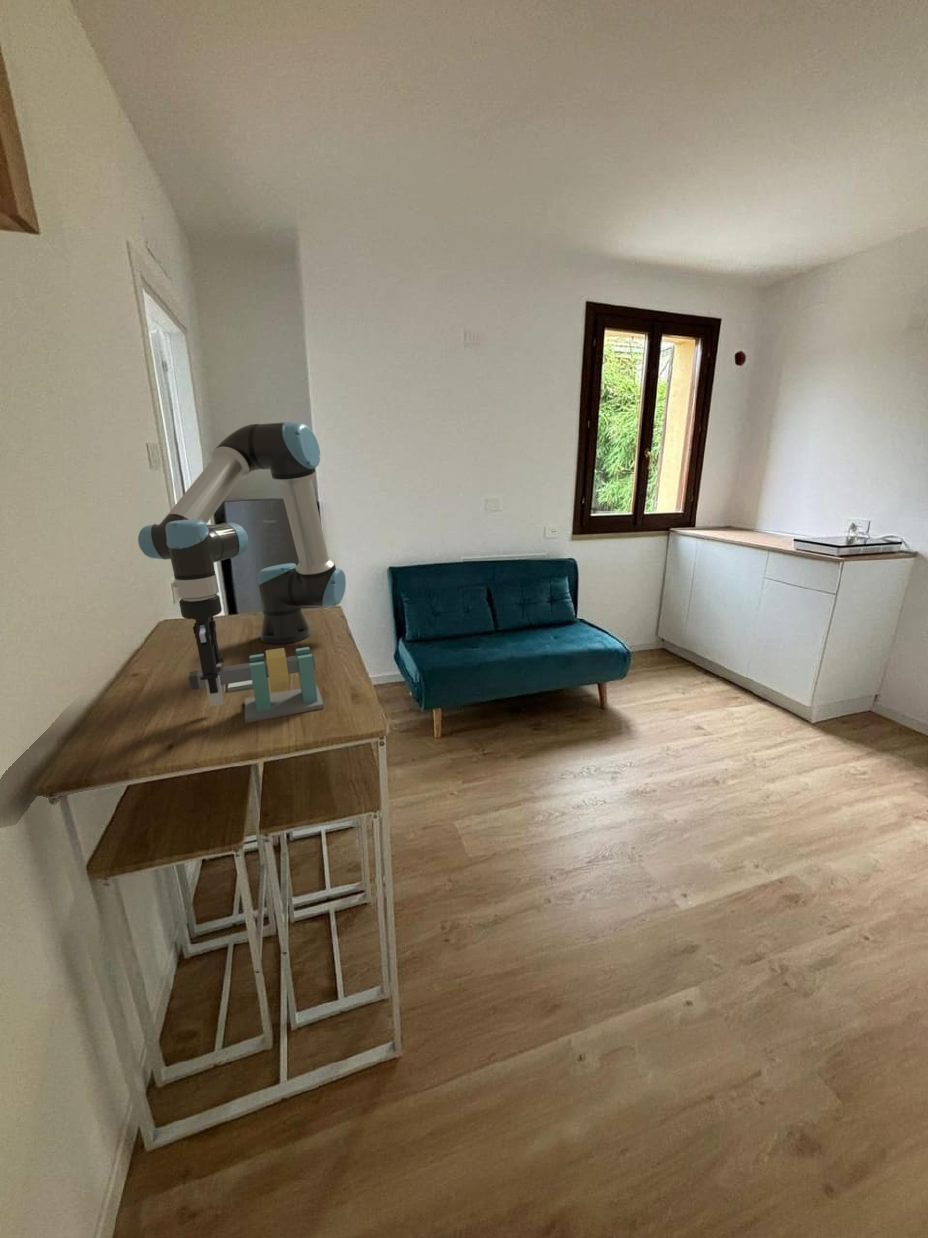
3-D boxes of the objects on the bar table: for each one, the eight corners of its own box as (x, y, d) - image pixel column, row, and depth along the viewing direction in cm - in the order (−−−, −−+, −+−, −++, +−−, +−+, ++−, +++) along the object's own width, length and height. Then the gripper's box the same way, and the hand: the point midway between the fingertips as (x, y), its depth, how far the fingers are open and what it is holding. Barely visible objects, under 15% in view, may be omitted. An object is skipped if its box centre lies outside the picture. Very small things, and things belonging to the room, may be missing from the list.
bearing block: (245, 702, 120) (237, 654, 116) (317, 689, 126) (312, 643, 122) (245, 723, 110) (236, 671, 107) (323, 708, 116) (318, 658, 112)
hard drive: (262, 682, 128) (262, 664, 139) (227, 688, 125) (229, 669, 136) (263, 688, 129) (262, 670, 140) (228, 694, 126) (230, 675, 137)
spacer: (270, 682, 118) (265, 650, 116) (288, 679, 120) (284, 647, 117) (271, 692, 113) (266, 659, 111) (290, 688, 114) (285, 656, 112)
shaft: (192, 684, 111) (190, 671, 110) (314, 665, 120) (312, 652, 119) (191, 690, 108) (188, 676, 107) (315, 669, 117) (314, 657, 116)
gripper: (183, 588, 112) (202, 684, 119) (172, 610, 95) (194, 721, 102) (221, 584, 115) (237, 679, 122) (216, 605, 98) (235, 714, 105)
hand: (217, 698), depth 112 cm, fingers open, 6 cm apart
